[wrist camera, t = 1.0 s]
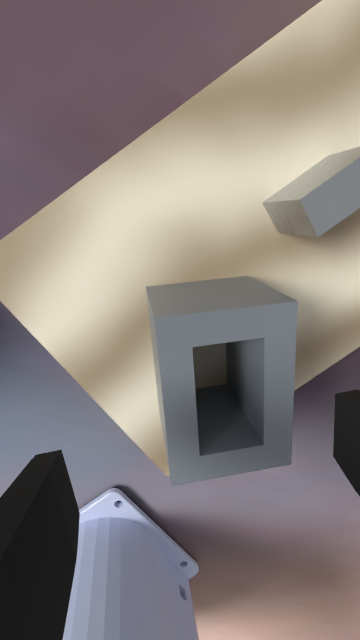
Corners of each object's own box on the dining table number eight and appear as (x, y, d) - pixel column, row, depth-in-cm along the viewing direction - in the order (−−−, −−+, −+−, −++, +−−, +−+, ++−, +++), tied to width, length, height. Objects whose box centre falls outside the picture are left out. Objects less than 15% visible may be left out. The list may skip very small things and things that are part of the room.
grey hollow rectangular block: (247, 275, 16) (297, 301, 11) (248, 399, 18) (291, 464, 14) (145, 286, 16) (154, 318, 11) (159, 413, 18) (171, 486, 13)
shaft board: (447, 272, 19) (464, 275, 18) (165, 464, 20) (167, 476, 19) (347, -14, 14) (363, -31, 13) (-24, 262, 15) (-34, 265, 14)
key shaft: (341, 187, 16) (399, 180, 12) (277, 232, 16) (318, 237, 12) (327, 155, 15) (384, 139, 12) (261, 202, 15) (299, 199, 12)
